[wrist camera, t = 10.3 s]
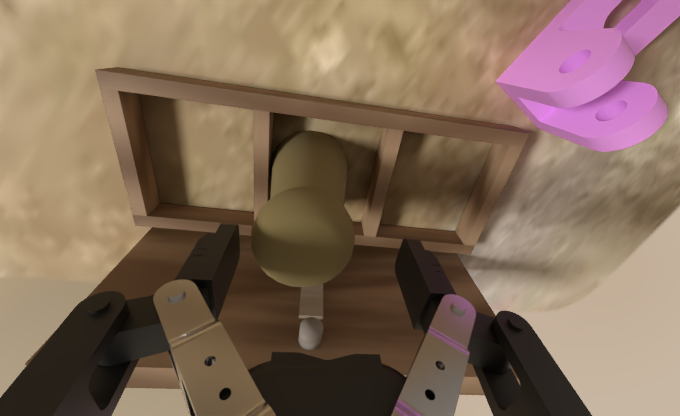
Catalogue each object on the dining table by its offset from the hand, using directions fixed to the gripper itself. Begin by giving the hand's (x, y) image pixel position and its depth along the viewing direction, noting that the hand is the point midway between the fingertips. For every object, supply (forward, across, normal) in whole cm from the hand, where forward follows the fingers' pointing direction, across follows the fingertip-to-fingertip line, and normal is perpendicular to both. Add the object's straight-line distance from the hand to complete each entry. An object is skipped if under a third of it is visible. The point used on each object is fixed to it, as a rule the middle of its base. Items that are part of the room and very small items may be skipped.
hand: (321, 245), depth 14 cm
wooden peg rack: (+10, 0, +2) cm, 10 cm away
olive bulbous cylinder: (+10, +1, 0) cm, 10 cm away
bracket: (+10, -17, -12) cm, 23 cm away
